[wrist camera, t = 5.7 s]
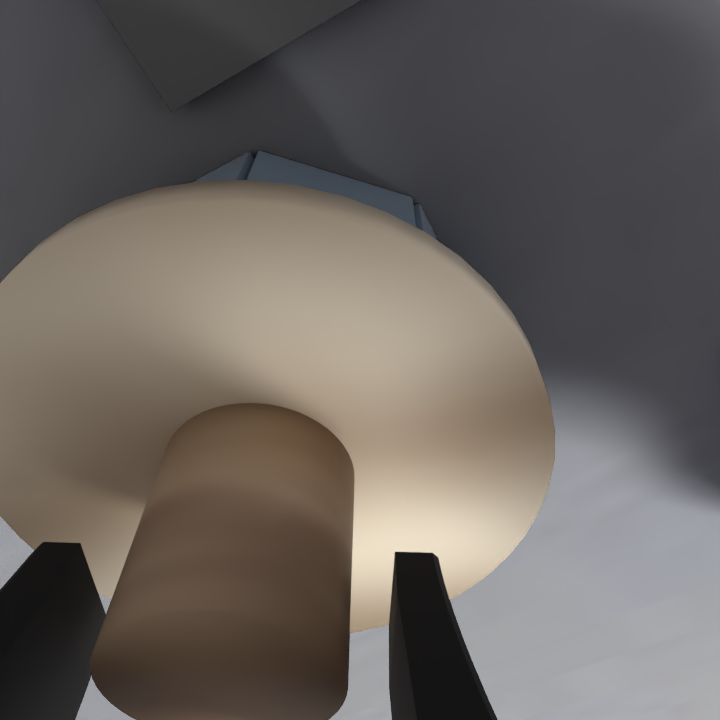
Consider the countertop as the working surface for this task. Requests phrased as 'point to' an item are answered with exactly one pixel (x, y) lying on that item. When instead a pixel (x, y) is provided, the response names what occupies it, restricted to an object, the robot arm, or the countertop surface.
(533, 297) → the countertop surface
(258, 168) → the bowl
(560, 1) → the countertop surface
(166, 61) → the mat
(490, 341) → the lid
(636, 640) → the countertop surface
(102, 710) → the countertop surface
